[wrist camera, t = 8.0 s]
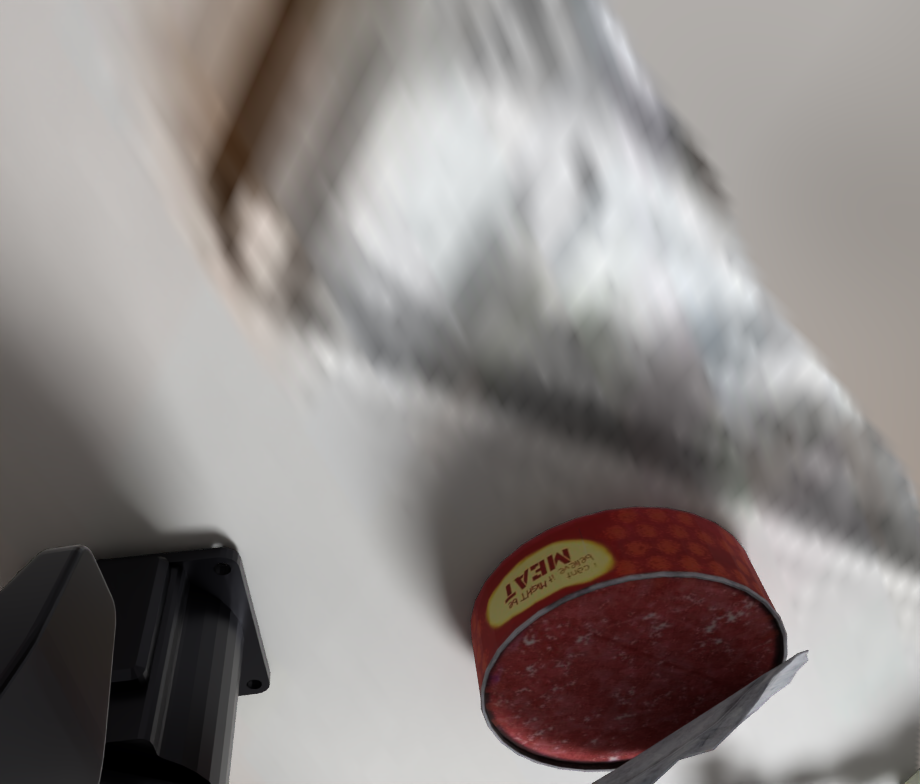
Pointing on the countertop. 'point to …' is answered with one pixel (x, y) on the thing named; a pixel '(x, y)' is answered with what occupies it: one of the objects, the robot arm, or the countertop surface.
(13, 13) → the countertop surface
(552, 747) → the canned food
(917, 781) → the valve
